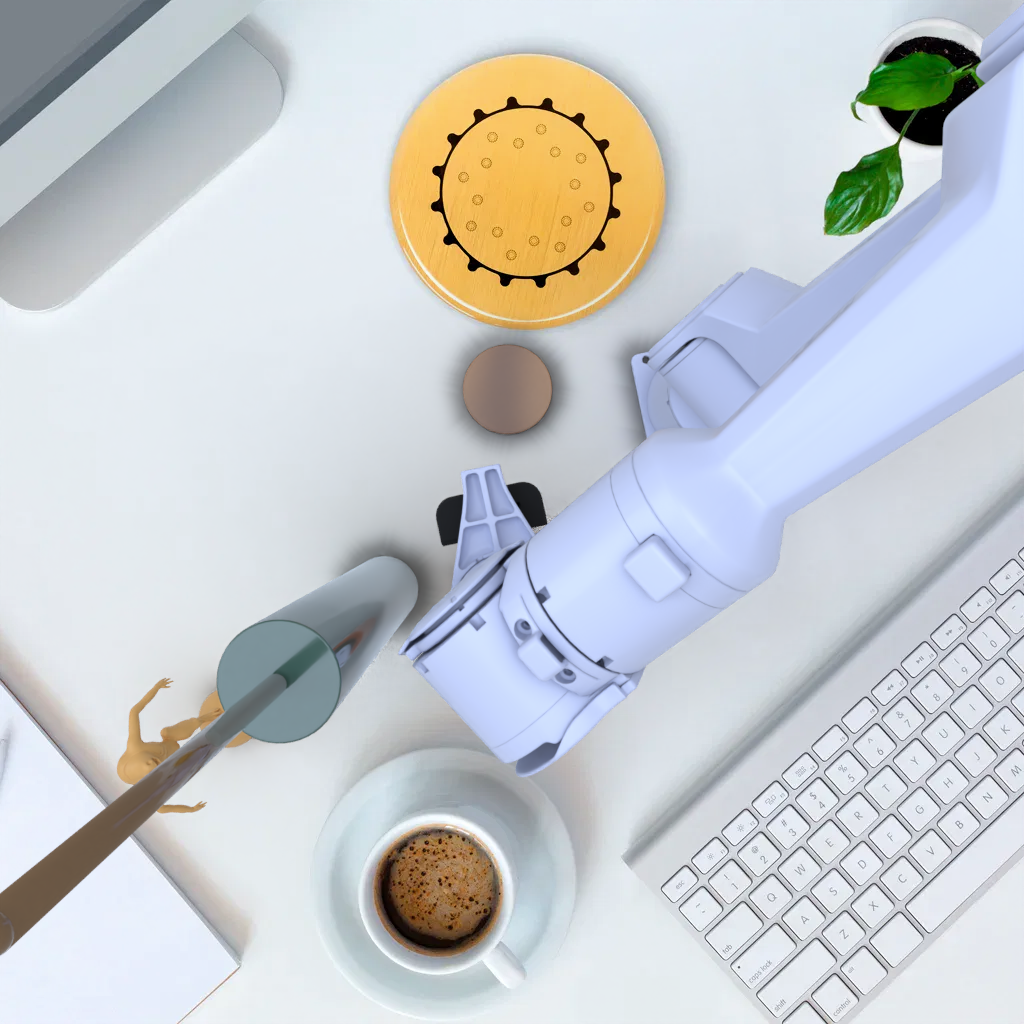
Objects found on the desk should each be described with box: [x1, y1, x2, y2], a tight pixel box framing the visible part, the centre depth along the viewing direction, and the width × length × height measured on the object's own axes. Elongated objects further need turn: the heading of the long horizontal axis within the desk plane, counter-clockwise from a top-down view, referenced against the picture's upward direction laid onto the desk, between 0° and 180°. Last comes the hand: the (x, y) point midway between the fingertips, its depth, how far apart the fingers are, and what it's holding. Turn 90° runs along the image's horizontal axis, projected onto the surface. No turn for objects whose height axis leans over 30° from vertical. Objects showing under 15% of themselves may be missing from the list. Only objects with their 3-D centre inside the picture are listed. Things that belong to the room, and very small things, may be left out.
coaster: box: [462, 344, 553, 435], centre depth 64 cm, size 6×6×1 cm
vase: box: [0, 555, 419, 957], centre depth 40 cm, size 5×5×50 cm
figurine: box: [116, 677, 252, 814], centre depth 59 cm, size 8×6×12 cm
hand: (507, 591), depth 56 cm, fingers open, 7 cm apart
